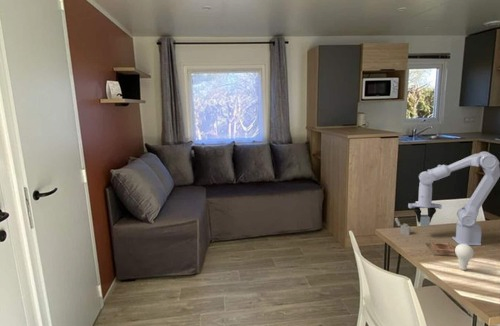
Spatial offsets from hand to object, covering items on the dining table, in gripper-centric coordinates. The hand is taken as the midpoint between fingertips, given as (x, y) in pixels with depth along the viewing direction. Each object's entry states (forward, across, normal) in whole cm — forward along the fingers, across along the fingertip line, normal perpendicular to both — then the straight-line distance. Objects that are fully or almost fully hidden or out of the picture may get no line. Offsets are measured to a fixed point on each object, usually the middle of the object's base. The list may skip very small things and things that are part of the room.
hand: (423, 221), depth 154 cm
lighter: (+8, +9, -4) cm, 13 cm away
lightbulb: (+8, -5, +32) cm, 33 cm away
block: (+1, 0, 0) cm, 1 cm away
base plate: (+8, -4, +15) cm, 18 cm away
